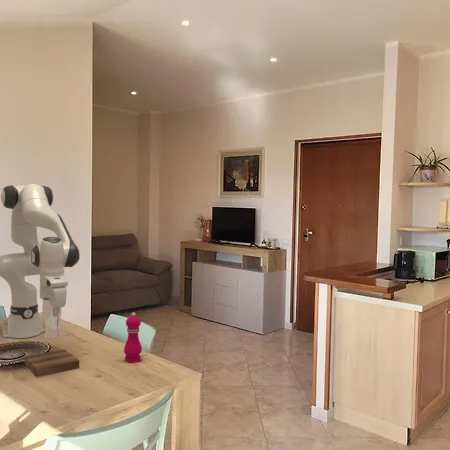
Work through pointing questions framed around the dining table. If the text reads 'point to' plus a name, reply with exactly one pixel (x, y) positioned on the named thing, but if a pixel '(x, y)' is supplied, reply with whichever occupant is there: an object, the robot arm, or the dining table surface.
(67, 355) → the walnut base
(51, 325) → the beer glass
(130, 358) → the pepper mill
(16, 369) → the dining table surface
